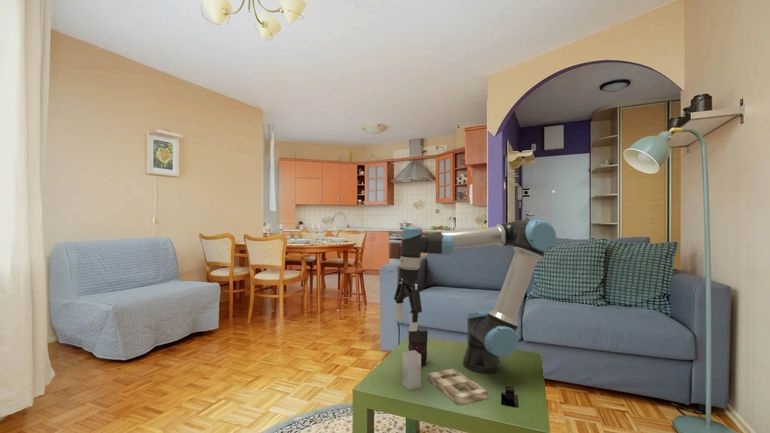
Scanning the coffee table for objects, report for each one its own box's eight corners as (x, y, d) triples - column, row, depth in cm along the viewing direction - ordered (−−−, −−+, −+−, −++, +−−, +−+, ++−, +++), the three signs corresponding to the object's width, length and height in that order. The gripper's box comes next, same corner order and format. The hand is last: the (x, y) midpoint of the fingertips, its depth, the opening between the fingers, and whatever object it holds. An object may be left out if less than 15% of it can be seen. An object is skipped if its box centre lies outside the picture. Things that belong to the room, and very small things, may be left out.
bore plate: (453, 374, 138) (453, 368, 138) (487, 398, 120) (487, 391, 120) (427, 380, 133) (427, 373, 133) (458, 405, 115) (458, 397, 115)
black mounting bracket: (499, 391, 126) (499, 378, 126) (520, 394, 124) (520, 381, 124) (498, 408, 114) (498, 394, 114) (522, 412, 112) (522, 398, 112)
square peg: (414, 382, 132) (414, 350, 132) (420, 387, 127) (421, 354, 127) (402, 384, 130) (402, 351, 130) (408, 390, 125) (408, 356, 125)
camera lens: (426, 368, 144) (426, 332, 144) (407, 366, 145) (407, 330, 146) (428, 360, 152) (428, 326, 152) (409, 359, 153) (409, 325, 154)
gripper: (388, 263, 141) (384, 316, 140) (414, 273, 117) (409, 336, 117) (405, 264, 143) (401, 316, 143) (434, 273, 120) (429, 335, 119)
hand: (405, 325), depth 130 cm, fingers open, 13 cm apart
